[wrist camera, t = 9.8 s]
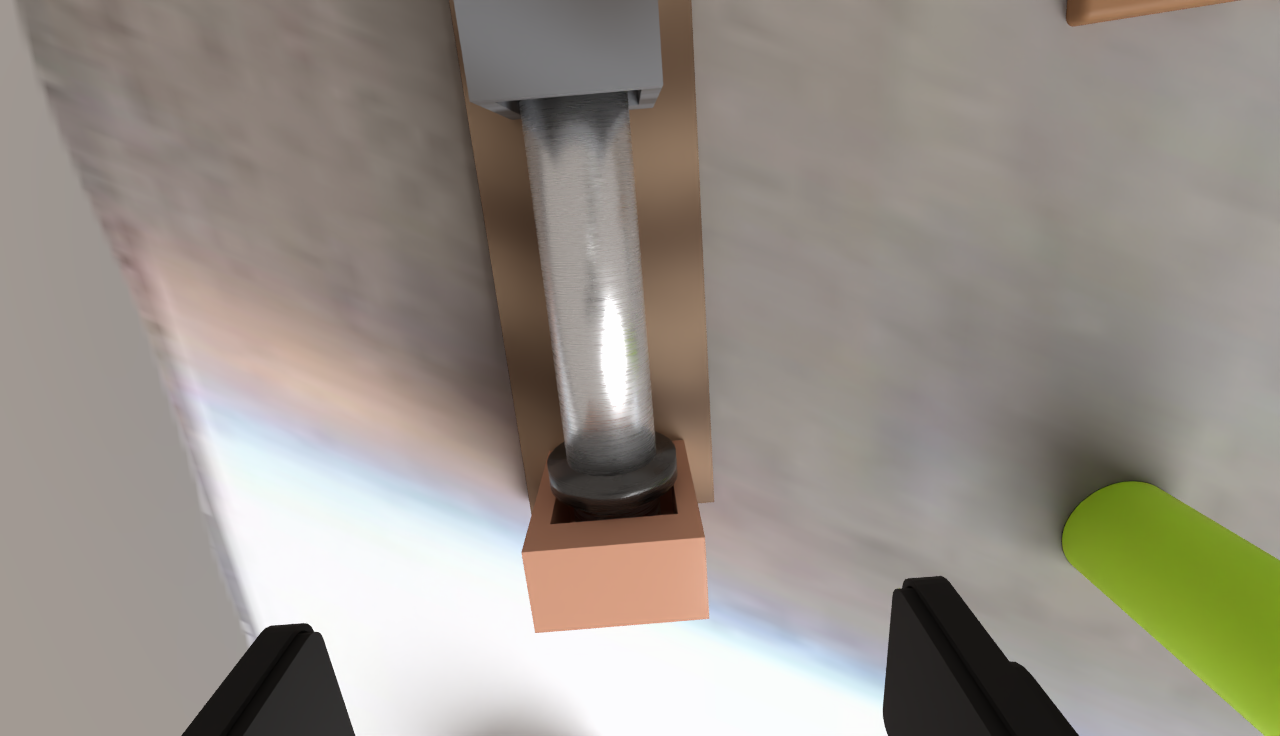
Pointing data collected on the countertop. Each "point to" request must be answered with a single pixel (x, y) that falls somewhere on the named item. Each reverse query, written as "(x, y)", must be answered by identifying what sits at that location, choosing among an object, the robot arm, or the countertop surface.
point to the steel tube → (595, 306)
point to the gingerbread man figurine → (1125, 9)
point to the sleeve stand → (664, 184)
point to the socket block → (617, 562)
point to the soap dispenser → (1187, 589)
